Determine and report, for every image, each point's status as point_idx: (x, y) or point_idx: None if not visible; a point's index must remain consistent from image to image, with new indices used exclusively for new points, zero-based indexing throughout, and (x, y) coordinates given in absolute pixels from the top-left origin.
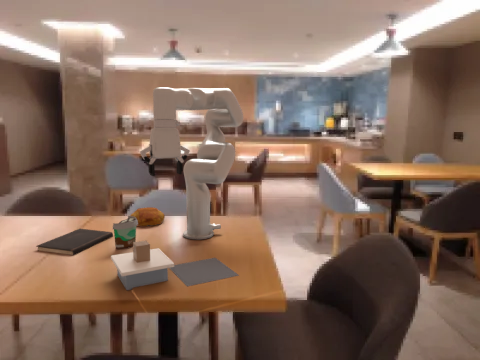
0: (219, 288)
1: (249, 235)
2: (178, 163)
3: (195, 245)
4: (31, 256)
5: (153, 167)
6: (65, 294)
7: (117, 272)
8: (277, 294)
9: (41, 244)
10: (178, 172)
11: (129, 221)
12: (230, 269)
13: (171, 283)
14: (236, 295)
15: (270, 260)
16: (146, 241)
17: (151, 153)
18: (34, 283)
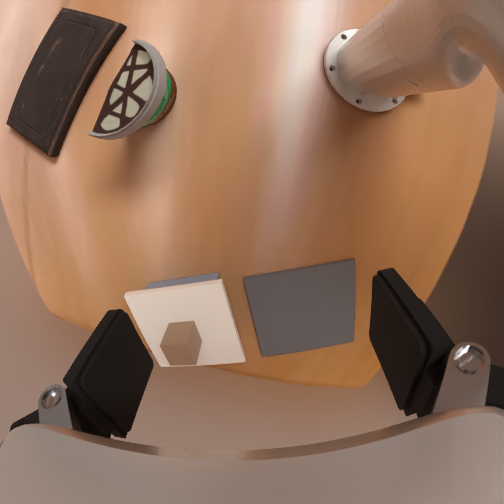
0: (307, 363)
1: (470, 136)
2: (406, 393)
3: (340, 149)
4: (11, 155)
5: (128, 416)
6: (98, 320)
7: (147, 286)
8: (364, 382)
9: (10, 116)
10: (374, 322)
11: (134, 86)
12: (353, 320)
13: (241, 337)
14: (319, 380)
15: (431, 290)
16: (188, 350)
17: (7, 453)
18: (50, 273)
